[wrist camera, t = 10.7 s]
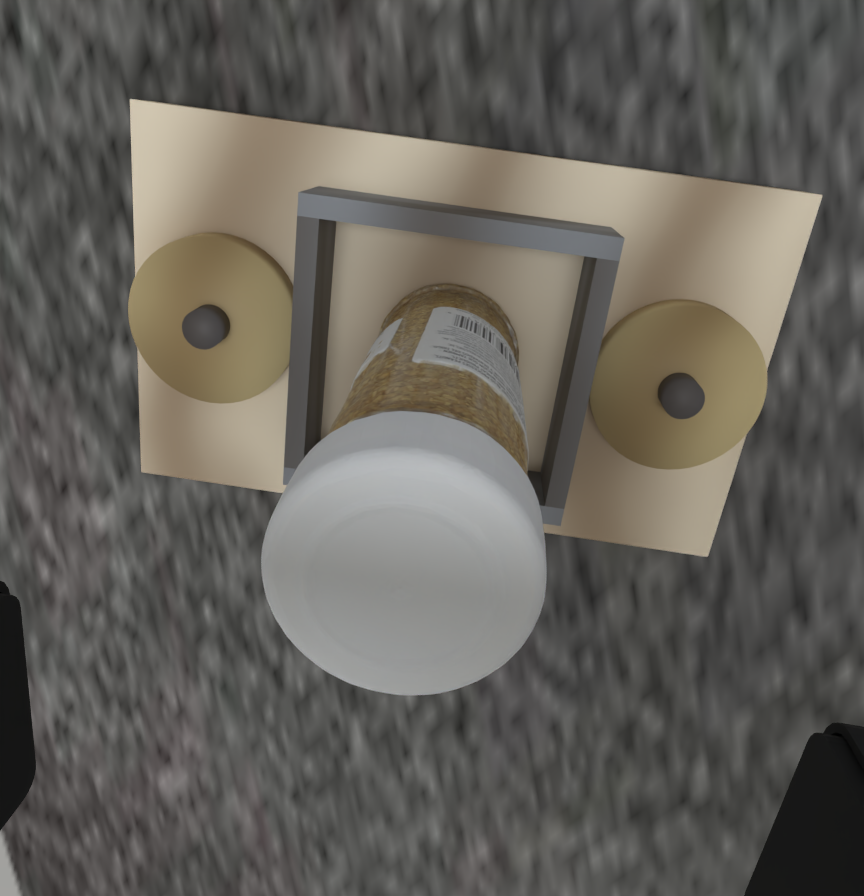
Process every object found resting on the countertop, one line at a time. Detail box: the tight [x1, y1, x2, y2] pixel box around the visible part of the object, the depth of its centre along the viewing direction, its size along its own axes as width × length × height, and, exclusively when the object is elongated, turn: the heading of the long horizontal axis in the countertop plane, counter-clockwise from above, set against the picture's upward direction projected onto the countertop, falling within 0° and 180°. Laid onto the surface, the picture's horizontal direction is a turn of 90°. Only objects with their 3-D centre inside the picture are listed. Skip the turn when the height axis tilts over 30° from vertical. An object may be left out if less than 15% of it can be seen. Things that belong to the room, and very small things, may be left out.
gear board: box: [128, 99, 823, 557], centre depth 23 cm, size 20×12×4 cm, turn 83°
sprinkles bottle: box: [261, 284, 547, 695], centre depth 18 cm, size 5×5×13 cm
